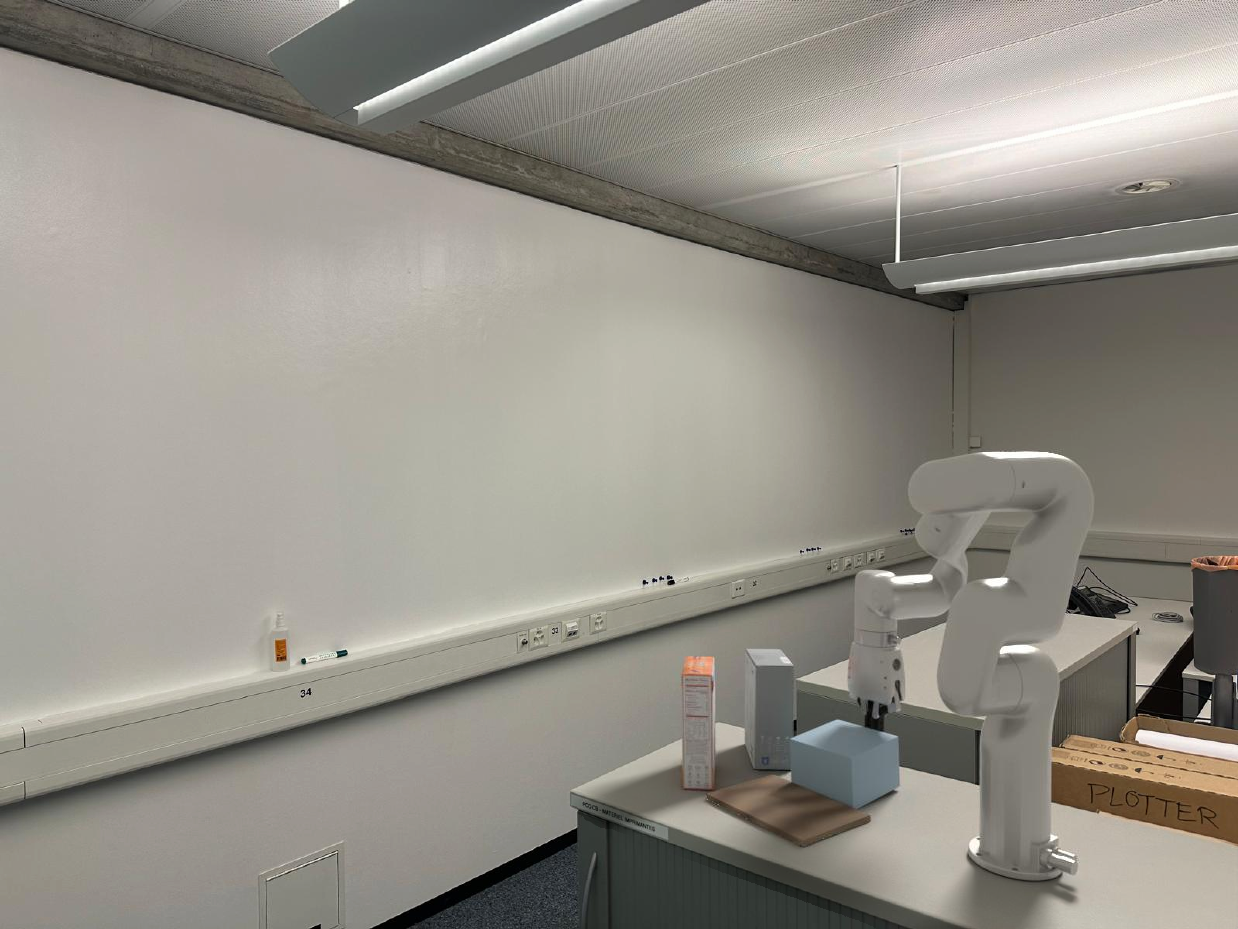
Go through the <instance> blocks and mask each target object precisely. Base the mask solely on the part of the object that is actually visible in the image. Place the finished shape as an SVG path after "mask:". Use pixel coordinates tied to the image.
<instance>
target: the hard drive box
mask: <svg viewBox="0 0 1238 929" xmlns="http://www.w3.org/2000/svg"><path fill="white" fill-rule="evenodd" d="M744 652H745V653H744V654H745V655H744V656H745V657H744V662H745V663H744V667H745V668H744V744H745V748H746V751H747V753H748V754H747V755H748V756H749V758H750V762H751V765H752V767H753V770H755V769H756V770H782V771H783V770H786V771H789V770H790V771H791V758H790V738H793V737H794V703H795V702H794V700H795V698H794V697H795V696H794V694H795V692H794V691H795V690H794V689H795V687H794V686H795V682H794V681H795V665H794V664H793V663H792V661H790V659H789V658H788V657H787V656H786V655H785V653H784V652H783V651H782V650H781V649H780V648H779V649H777V648H745V650H744Z"/></svg>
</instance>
